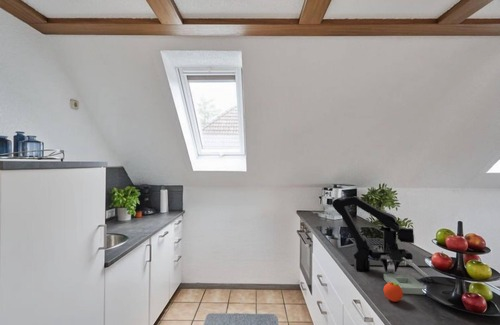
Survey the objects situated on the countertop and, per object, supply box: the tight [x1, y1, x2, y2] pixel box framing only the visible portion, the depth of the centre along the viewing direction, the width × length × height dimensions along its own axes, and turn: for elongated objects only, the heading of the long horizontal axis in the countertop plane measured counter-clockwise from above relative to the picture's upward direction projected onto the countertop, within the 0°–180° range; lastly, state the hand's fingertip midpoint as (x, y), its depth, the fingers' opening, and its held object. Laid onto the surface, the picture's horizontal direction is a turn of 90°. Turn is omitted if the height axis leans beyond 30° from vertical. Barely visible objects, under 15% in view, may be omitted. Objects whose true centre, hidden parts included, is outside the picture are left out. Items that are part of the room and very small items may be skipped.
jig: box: [383, 273, 428, 295], centre depth 117 cm, size 12×14×2 cm
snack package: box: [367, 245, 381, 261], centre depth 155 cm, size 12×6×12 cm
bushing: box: [385, 258, 396, 274], centre depth 129 cm, size 4×4×7 cm
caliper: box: [402, 258, 430, 278], centre depth 134 cm, size 20×1×6 cm, turn 1°
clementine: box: [383, 282, 404, 303], centre depth 105 cm, size 8×7×7 cm
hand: (390, 271), depth 129 cm, fingers closed on bushing, 4 cm apart
